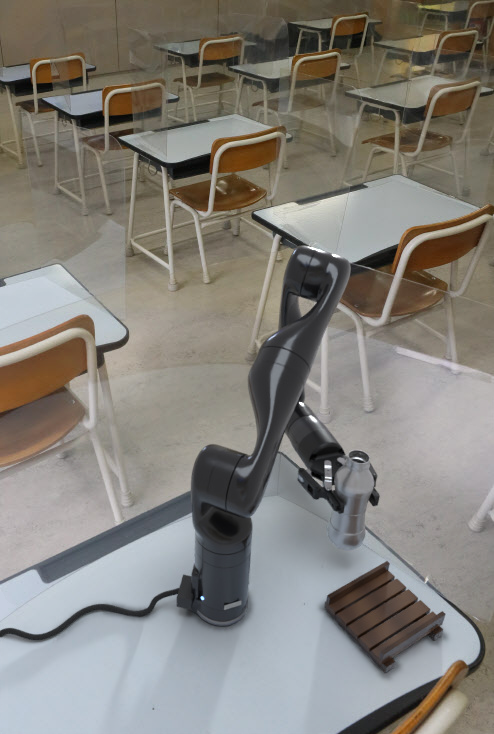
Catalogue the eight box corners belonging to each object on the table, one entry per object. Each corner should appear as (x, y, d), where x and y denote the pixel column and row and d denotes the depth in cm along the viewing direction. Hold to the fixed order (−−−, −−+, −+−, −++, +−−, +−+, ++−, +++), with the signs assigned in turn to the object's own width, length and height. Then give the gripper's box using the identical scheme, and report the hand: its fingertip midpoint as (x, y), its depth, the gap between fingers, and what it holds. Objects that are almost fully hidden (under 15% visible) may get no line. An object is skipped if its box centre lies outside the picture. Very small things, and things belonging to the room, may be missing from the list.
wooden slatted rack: (382, 674, 107) (386, 657, 105) (321, 608, 118) (324, 592, 116) (444, 633, 113) (449, 616, 111) (380, 574, 124) (384, 558, 122)
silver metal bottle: (364, 557, 121) (381, 472, 111) (325, 551, 122) (338, 467, 112) (362, 530, 126) (378, 446, 116) (324, 525, 128) (337, 441, 118)
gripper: (281, 435, 127) (323, 498, 113) (351, 422, 130) (400, 481, 116) (278, 466, 131) (318, 530, 117) (346, 452, 134) (393, 513, 120)
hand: (359, 506), depth 117 cm, fingers closed on silver metal bottle, 6 cm apart
